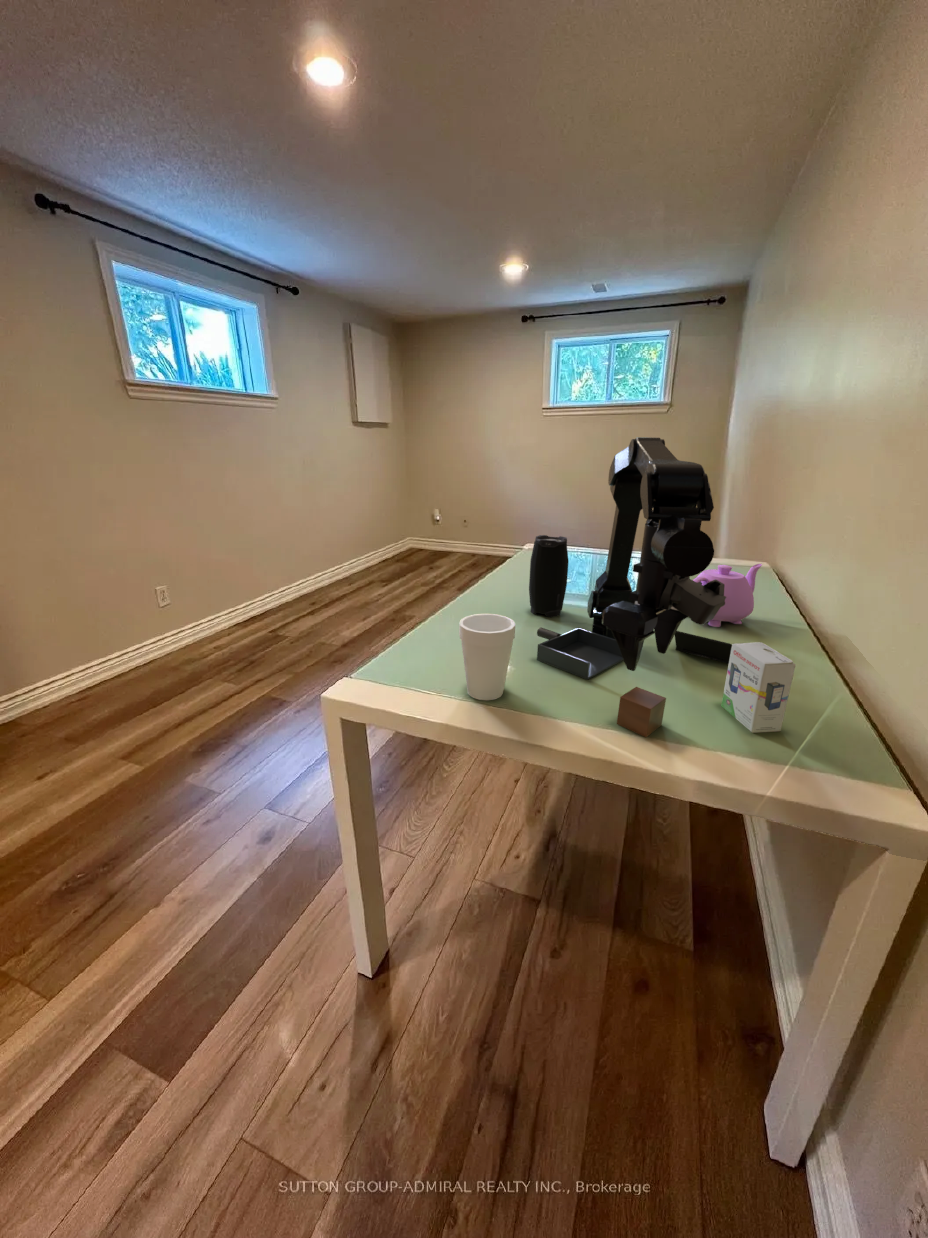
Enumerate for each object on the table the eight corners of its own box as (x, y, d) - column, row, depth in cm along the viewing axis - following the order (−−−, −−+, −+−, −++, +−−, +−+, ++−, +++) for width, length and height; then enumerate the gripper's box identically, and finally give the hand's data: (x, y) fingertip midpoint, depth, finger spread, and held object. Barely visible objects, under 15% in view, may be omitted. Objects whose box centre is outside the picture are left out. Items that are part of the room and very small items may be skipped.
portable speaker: (524, 608, 130) (528, 534, 124) (557, 606, 131) (563, 534, 125) (532, 618, 122) (537, 541, 116) (568, 617, 123) (575, 540, 117)
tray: (558, 635, 112) (559, 619, 110) (626, 658, 100) (628, 641, 99) (517, 652, 102) (518, 635, 101) (587, 680, 91) (589, 661, 90)
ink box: (781, 732, 75) (800, 663, 71) (749, 734, 75) (766, 664, 71) (746, 704, 83) (761, 640, 79) (717, 705, 83) (731, 641, 79)
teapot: (726, 605, 134) (737, 555, 129) (777, 624, 120) (791, 570, 116) (661, 613, 127) (669, 561, 123) (706, 634, 114) (717, 576, 109)
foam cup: (457, 679, 91) (458, 613, 86) (507, 678, 91) (510, 613, 87) (460, 705, 82) (461, 633, 78) (515, 704, 83) (519, 632, 78)
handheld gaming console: (739, 644, 104) (738, 617, 96) (736, 674, 100) (735, 648, 93) (680, 640, 110) (675, 614, 103) (675, 668, 106) (670, 643, 99)
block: (632, 713, 80) (636, 686, 78) (661, 725, 77) (666, 697, 75) (616, 724, 77) (620, 696, 75) (646, 738, 74) (650, 709, 72)
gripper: (691, 582, 56) (670, 701, 62) (749, 558, 68) (727, 660, 74) (605, 564, 64) (593, 672, 69) (671, 546, 76) (657, 639, 81)
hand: (646, 661), depth 73 cm, fingers open, 9 cm apart
